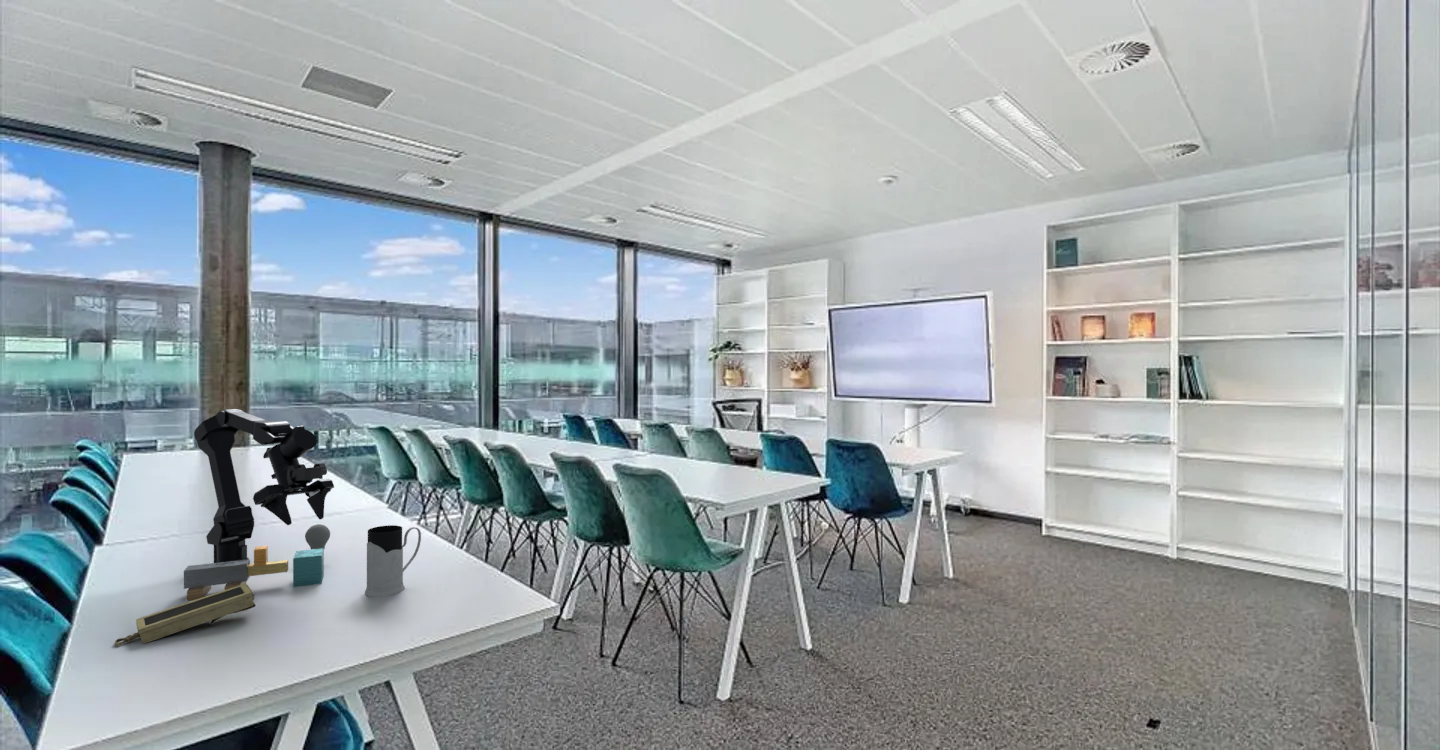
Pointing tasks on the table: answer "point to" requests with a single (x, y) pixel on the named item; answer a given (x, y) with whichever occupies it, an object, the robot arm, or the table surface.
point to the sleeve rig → (235, 573)
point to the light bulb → (317, 536)
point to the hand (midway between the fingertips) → (306, 521)
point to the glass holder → (386, 560)
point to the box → (192, 614)
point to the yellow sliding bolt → (265, 563)
